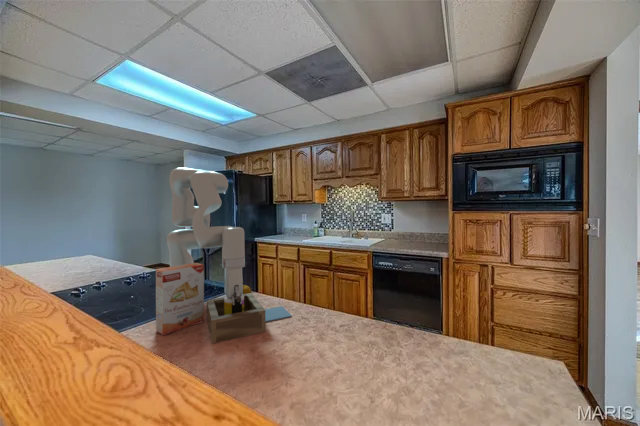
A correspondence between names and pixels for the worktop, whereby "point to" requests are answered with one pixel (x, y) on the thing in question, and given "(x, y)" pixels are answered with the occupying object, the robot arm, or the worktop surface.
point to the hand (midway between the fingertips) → (234, 311)
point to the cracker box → (179, 297)
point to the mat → (276, 314)
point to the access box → (235, 319)
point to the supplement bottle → (229, 304)
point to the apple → (246, 289)
